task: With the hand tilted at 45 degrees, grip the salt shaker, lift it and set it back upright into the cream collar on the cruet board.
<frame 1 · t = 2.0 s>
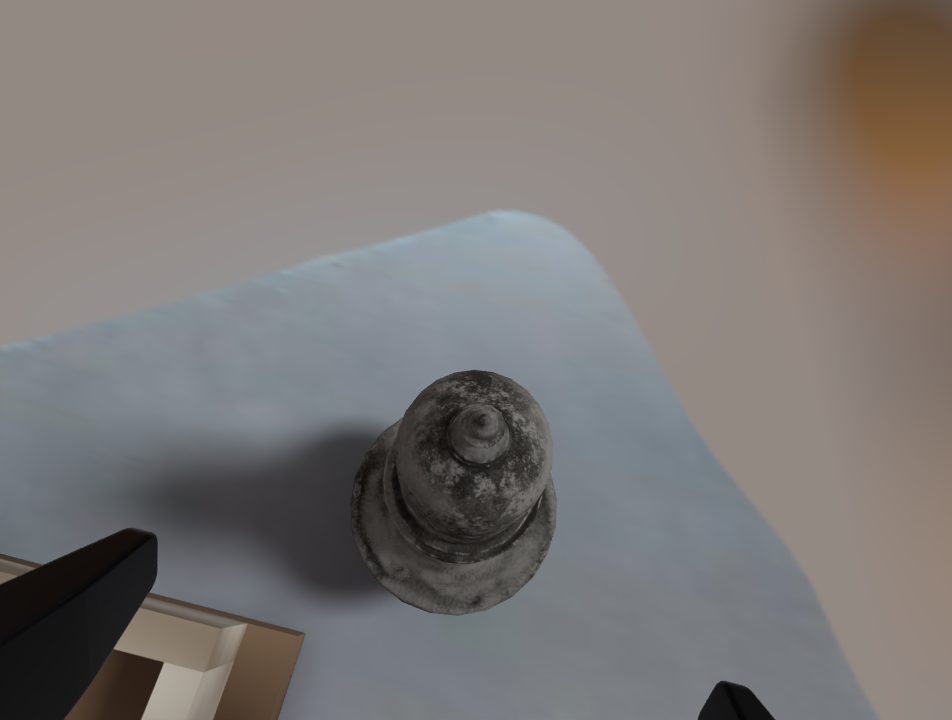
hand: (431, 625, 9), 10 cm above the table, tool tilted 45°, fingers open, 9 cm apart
salt shaker: (449, 517, 19), on the table
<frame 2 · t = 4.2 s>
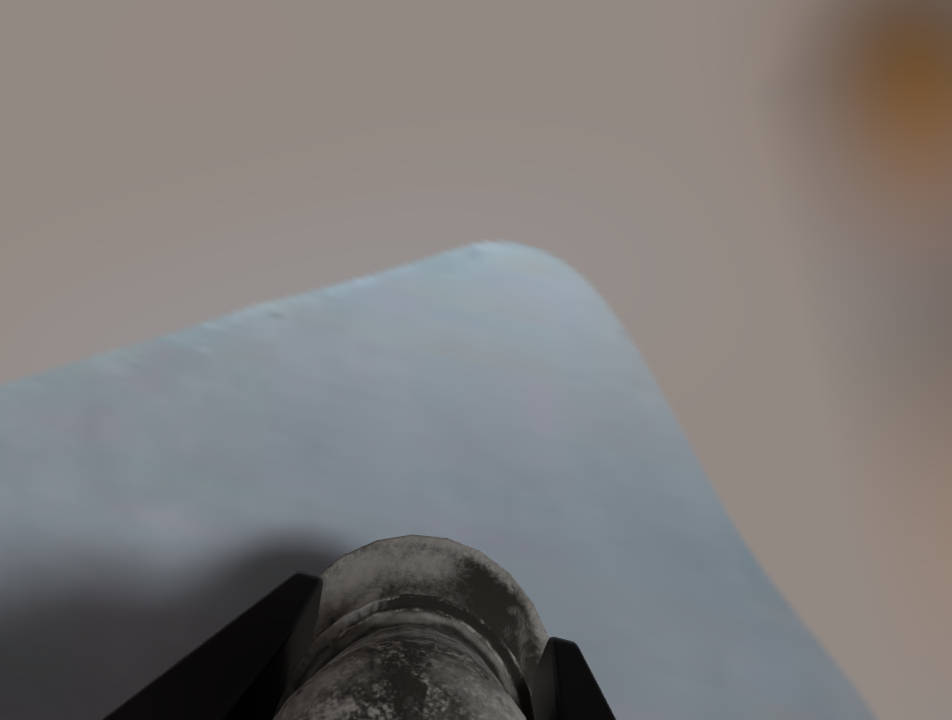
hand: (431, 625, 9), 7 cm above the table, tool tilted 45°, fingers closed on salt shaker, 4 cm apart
salt shaker: (414, 665, 14), on the table, touching gripper
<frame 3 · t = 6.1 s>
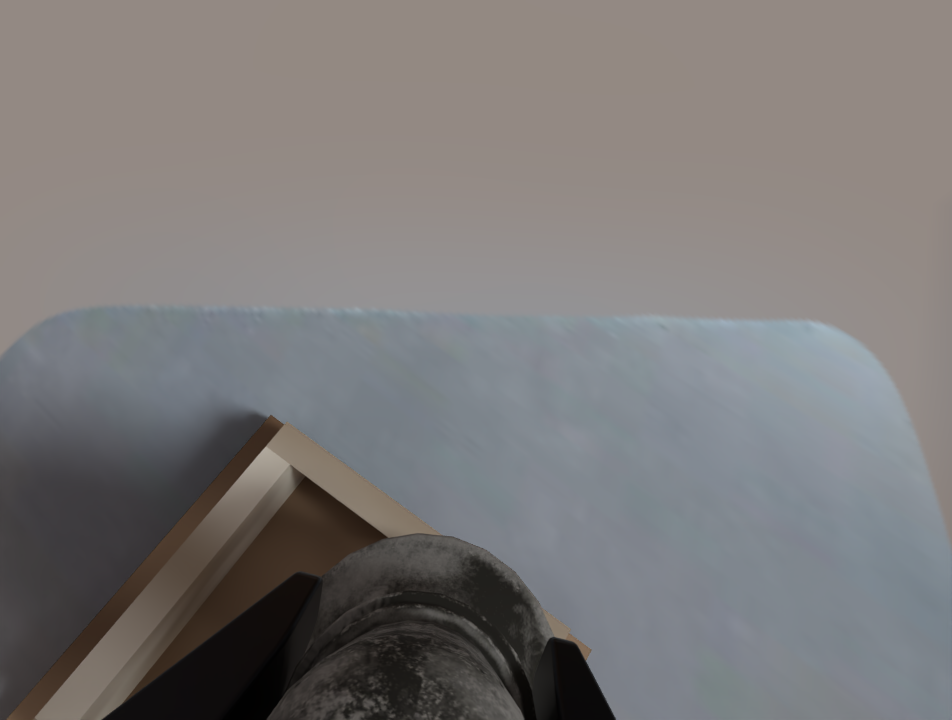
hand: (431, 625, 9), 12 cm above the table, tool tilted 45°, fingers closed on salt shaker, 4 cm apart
salt shaker: (422, 663, 15), point 5 cm above the table, touching gripper
when the fingers open (9 cm above the table, at t = 7.9 s): salt shaker stays where it is, resting on cruet board.
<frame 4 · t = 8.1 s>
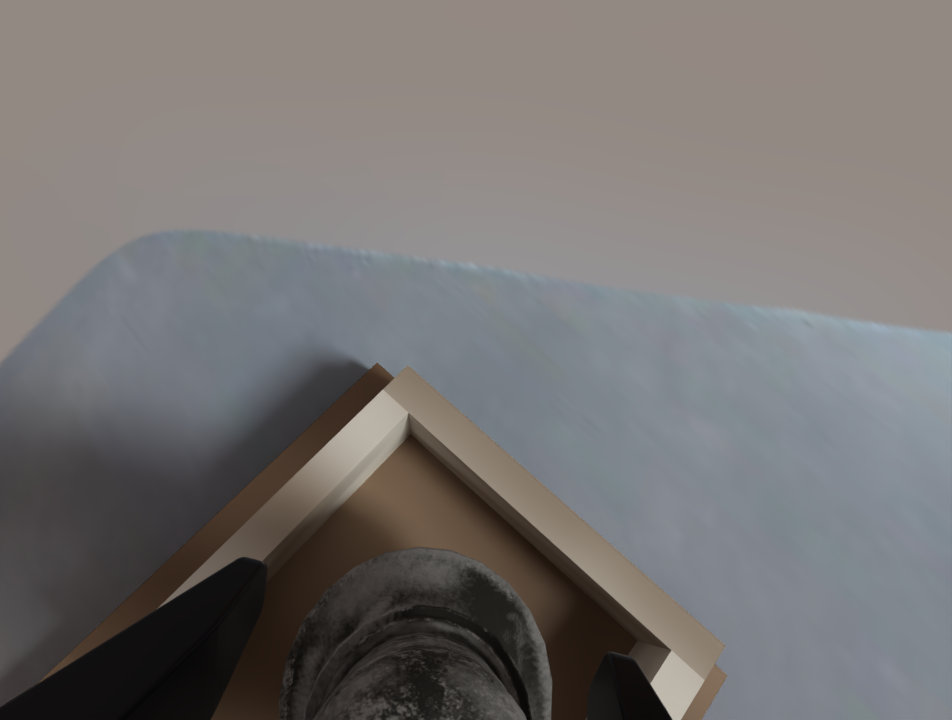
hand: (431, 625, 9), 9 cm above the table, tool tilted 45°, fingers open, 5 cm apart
salt shaker: (419, 665, 16), point 1 cm above the table, touching cruet board
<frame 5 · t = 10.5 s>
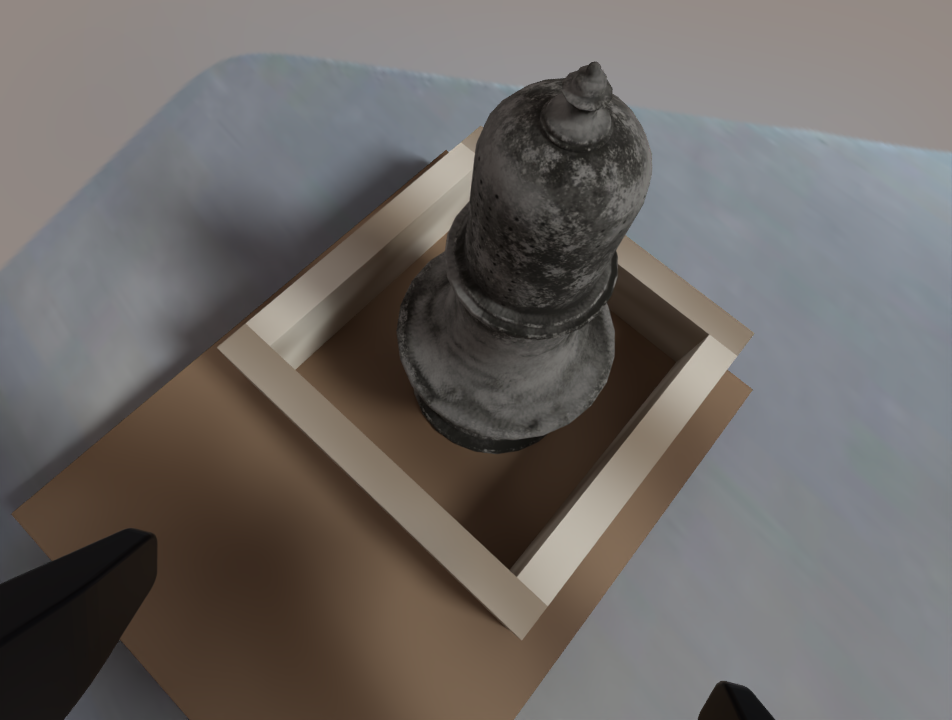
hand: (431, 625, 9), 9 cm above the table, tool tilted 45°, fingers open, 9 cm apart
salt shaker: (492, 375, 18), point 1 cm above the table, touching cruet board
cruet board: (416, 453, 18), on the table
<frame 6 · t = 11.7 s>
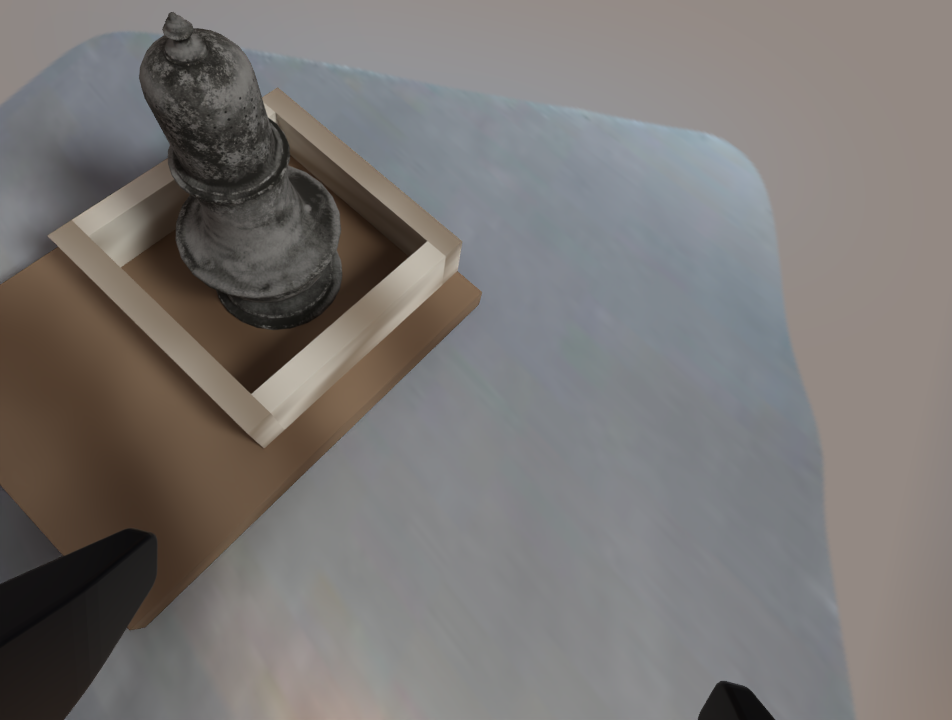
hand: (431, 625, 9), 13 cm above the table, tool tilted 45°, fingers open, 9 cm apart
salt shaker: (280, 276, 24), point 1 cm above the table, touching cruet board
cruet board: (219, 334, 24), on the table
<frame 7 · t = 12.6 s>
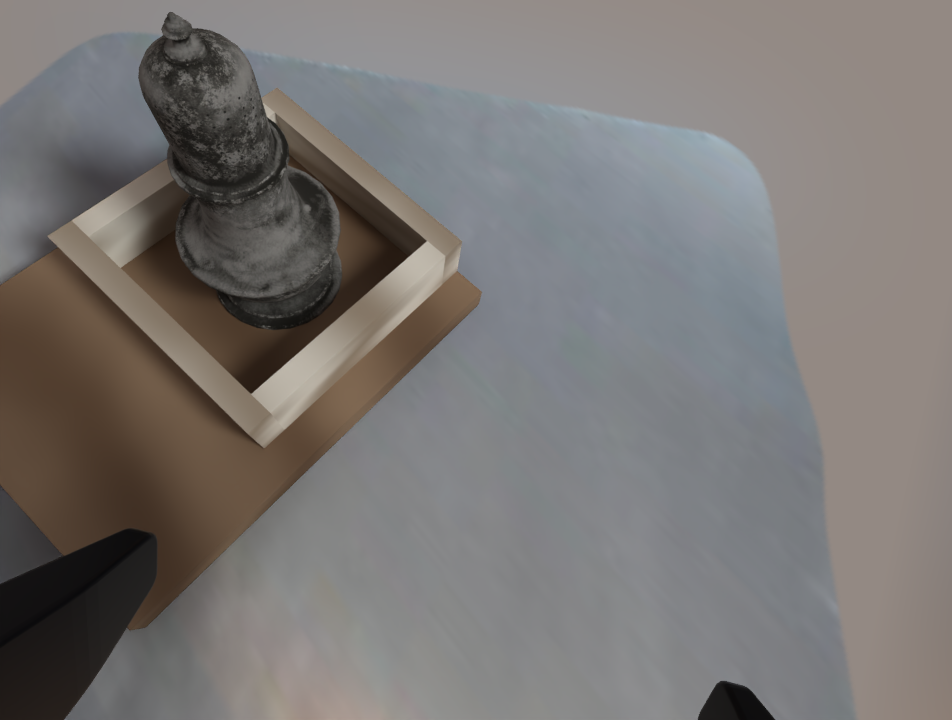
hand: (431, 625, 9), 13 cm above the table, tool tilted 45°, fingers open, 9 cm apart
salt shaker: (280, 276, 24), point 1 cm above the table, touching cruet board
cruet board: (219, 334, 24), on the table
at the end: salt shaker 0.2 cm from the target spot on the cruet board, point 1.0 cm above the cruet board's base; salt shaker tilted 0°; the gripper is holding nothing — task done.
